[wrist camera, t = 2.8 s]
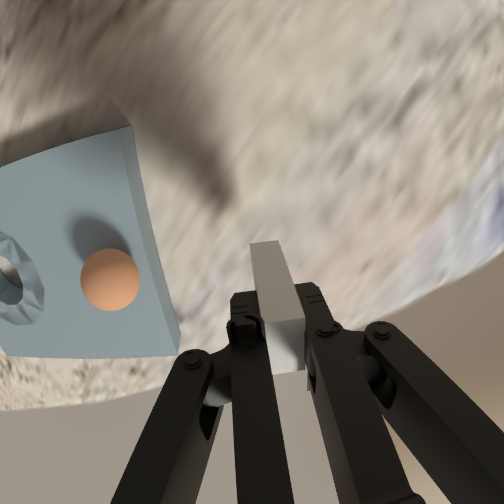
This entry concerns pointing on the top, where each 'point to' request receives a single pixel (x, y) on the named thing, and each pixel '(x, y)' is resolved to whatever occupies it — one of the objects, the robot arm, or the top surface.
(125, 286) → the ball
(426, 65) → the top surface
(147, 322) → the board
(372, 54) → the top surface
